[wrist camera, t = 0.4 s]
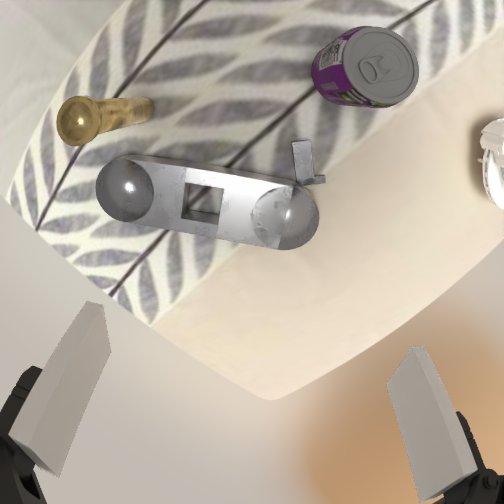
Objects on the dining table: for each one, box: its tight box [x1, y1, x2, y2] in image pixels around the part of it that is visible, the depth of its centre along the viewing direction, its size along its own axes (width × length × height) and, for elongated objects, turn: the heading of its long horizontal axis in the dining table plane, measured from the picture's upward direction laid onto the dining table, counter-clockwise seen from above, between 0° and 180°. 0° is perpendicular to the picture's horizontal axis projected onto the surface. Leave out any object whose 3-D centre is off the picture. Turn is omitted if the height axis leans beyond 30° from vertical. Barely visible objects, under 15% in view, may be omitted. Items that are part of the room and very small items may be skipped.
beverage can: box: [312, 26, 419, 108], centre depth 23 cm, size 7×7×12 cm
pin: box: [57, 96, 154, 146], centre depth 24 cm, size 4×4×14 cm
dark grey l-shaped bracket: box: [292, 140, 325, 186], centre depth 33 cm, size 5×3×1 cm, turn 9°
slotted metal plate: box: [96, 154, 319, 250], centre depth 34 cm, size 7×26×3 cm, turn 79°
